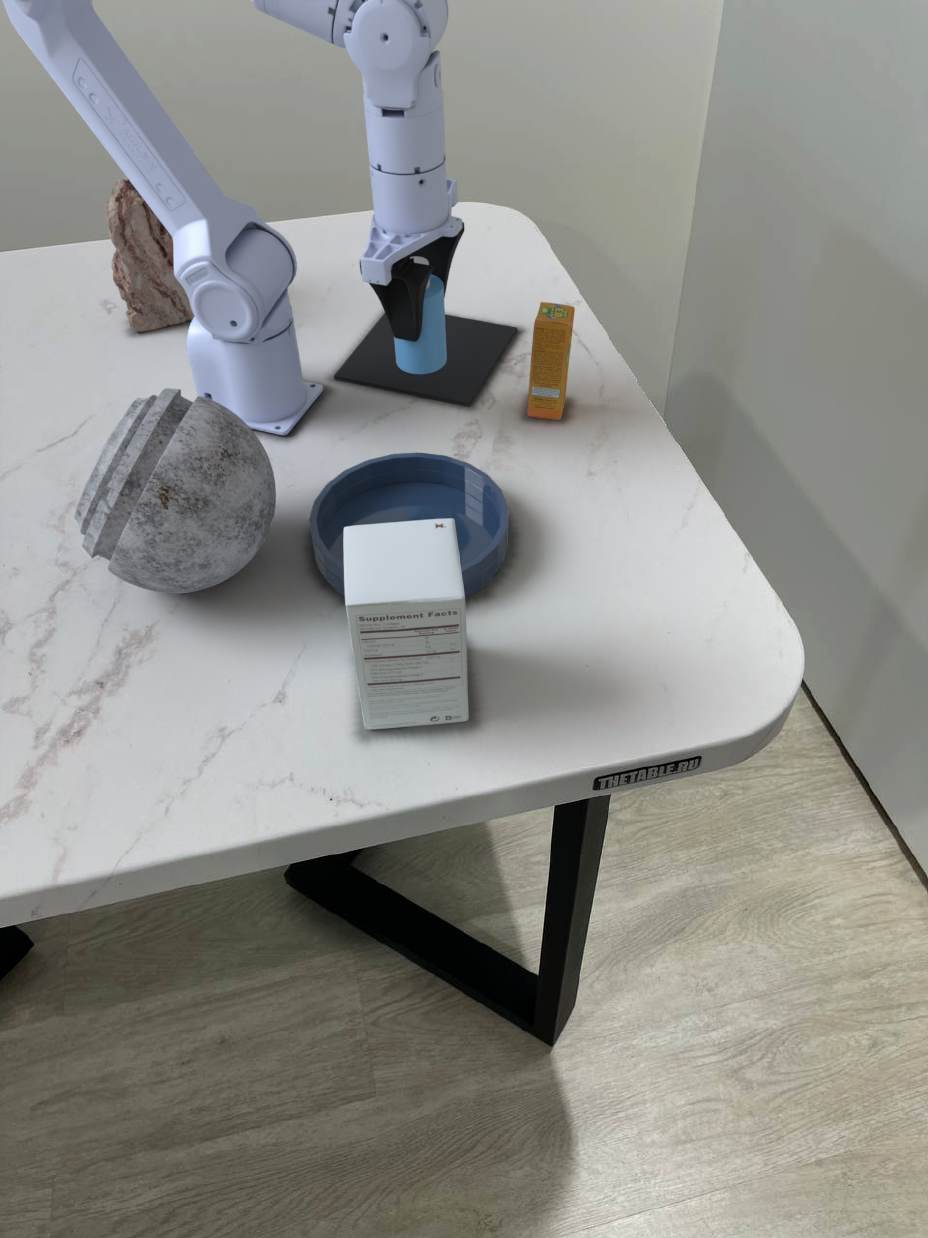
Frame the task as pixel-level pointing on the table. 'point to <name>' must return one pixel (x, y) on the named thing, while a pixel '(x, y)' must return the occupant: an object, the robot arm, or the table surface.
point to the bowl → (414, 510)
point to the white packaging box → (407, 622)
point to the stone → (144, 262)
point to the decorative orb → (178, 495)
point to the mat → (456, 382)
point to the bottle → (426, 333)
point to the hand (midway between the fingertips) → (418, 323)
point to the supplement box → (550, 360)
